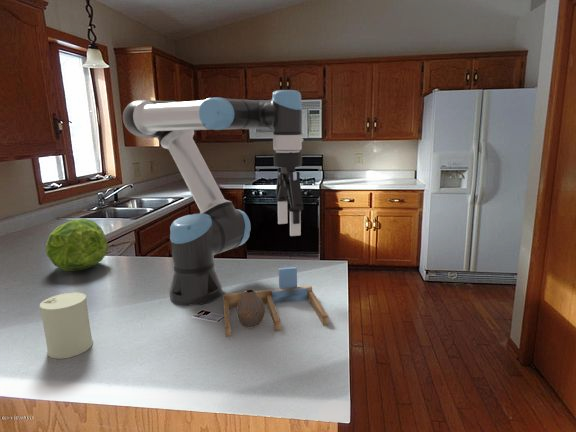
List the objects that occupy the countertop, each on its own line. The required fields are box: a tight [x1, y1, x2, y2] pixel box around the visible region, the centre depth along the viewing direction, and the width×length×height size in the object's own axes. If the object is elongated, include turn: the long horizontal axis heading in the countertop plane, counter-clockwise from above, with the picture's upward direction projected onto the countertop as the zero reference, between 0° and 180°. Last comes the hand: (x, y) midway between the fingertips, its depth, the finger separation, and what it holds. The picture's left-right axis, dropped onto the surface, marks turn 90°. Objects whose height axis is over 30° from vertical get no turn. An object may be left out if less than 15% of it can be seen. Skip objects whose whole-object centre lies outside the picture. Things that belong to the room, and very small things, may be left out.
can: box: [39, 291, 94, 360], centre depth 90 cm, size 9×9×12 cm
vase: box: [236, 288, 266, 328], centre depth 99 cm, size 7×7×9 cm
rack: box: [222, 285, 329, 337], centre depth 104 cm, size 25×17×4 cm
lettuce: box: [45, 218, 109, 272], centre depth 144 cm, size 19×23×18 cm
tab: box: [278, 266, 298, 289], centre depth 113 cm, size 5×1×6 cm, turn 100°
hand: (288, 229), depth 111 cm, fingers open, 13 cm apart
